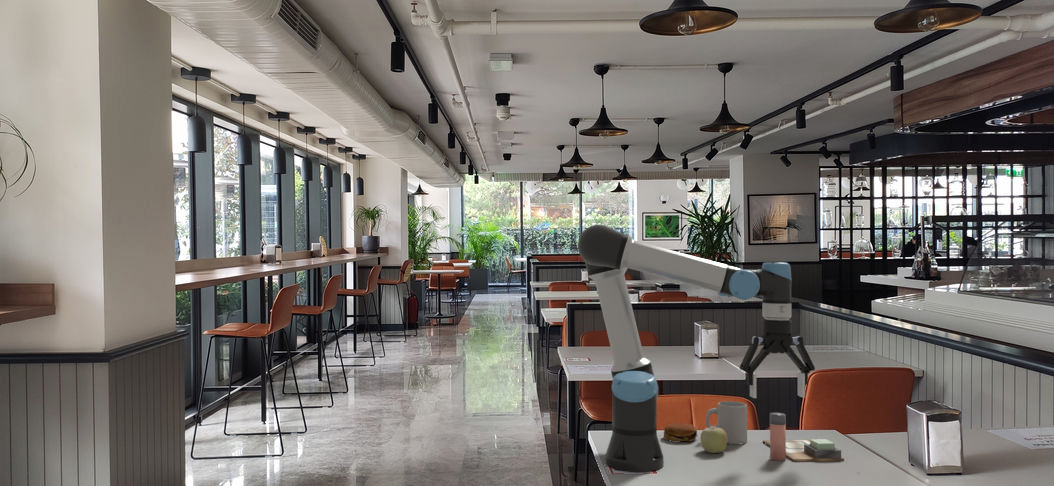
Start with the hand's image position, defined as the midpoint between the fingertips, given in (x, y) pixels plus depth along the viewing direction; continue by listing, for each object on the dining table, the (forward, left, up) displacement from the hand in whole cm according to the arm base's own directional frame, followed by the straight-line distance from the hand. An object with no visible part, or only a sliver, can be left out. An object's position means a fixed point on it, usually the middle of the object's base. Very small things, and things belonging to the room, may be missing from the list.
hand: (777, 397), depth 192 cm
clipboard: (+10, +7, -17) cm, 20 cm away
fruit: (-15, +8, -17) cm, 24 cm away
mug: (-7, +20, -17) cm, 27 cm away
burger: (-20, +23, -17) cm, 35 cm away
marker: (0, 0, -17) cm, 17 cm away
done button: (+13, +1, -14) cm, 19 cm away
